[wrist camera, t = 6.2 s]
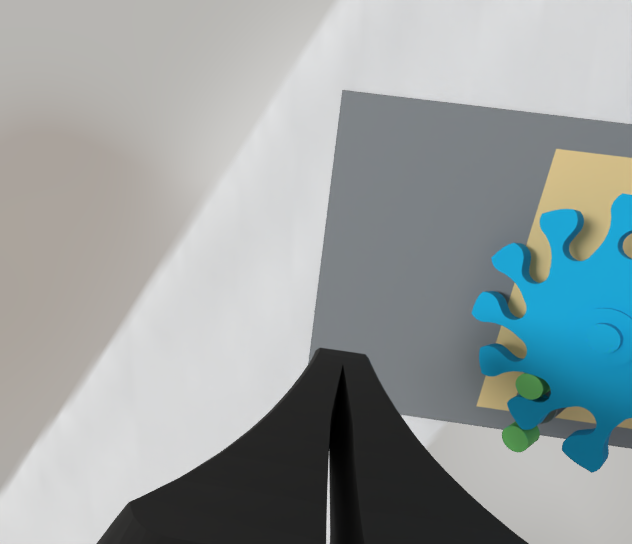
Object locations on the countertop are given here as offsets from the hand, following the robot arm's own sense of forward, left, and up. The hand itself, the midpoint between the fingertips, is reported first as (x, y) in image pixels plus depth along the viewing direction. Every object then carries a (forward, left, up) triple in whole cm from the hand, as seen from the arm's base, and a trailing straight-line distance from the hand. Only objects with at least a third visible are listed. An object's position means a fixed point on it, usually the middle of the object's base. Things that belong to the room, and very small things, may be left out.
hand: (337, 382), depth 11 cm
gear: (-10, 0, -9) cm, 13 cm away
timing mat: (-8, 0, -9) cm, 12 cm away
